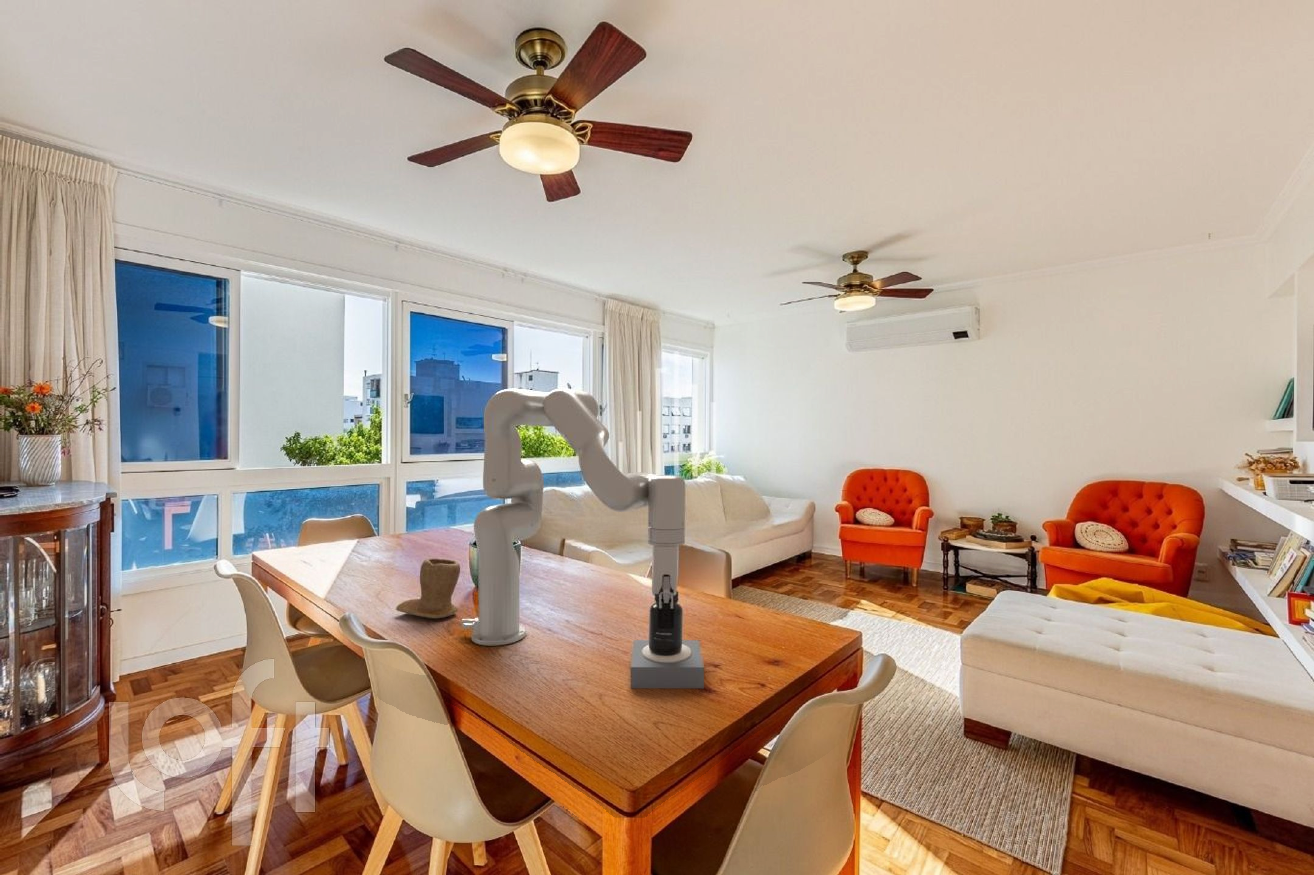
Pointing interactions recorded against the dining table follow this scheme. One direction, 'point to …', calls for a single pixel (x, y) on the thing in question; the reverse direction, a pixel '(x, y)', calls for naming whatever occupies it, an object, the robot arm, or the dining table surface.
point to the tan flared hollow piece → (434, 590)
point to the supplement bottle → (665, 630)
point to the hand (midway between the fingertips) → (665, 619)
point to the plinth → (667, 667)
